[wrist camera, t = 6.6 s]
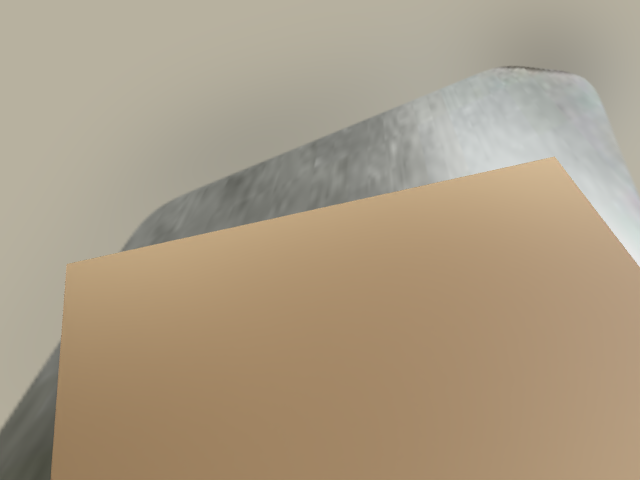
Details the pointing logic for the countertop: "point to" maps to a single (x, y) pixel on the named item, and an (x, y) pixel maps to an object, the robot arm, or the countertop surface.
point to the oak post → (363, 344)
